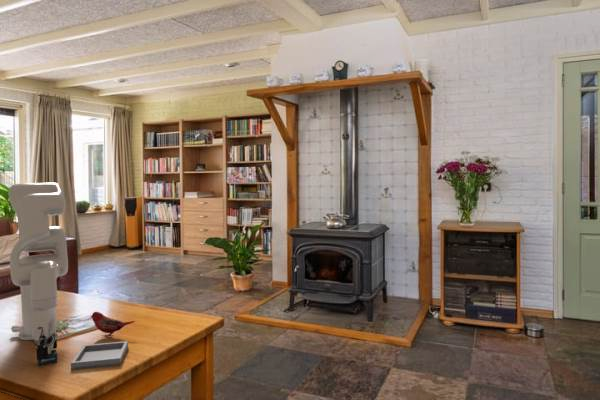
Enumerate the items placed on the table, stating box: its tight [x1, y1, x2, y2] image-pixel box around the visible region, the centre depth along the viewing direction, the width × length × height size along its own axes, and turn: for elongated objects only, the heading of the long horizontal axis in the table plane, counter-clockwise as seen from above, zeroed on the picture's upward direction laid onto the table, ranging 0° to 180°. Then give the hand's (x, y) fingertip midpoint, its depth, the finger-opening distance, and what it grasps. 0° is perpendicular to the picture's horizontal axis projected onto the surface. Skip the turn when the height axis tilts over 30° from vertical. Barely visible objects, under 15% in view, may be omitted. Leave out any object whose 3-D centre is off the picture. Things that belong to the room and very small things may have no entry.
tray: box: [70, 341, 129, 371], centre depth 149 cm, size 15×15×2 cm
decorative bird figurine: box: [89, 311, 136, 338], centre depth 168 cm, size 3×18×10 cm, turn 88°
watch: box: [37, 333, 58, 368], centre depth 146 cm, size 6×8×11 cm
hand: (47, 353), depth 146 cm, fingers closed on watch, 8 cm apart
